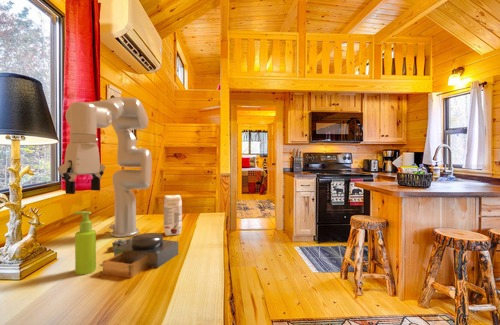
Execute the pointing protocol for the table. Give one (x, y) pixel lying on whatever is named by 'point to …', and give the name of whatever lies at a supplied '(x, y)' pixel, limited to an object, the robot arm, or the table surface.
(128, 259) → the grey block with dome
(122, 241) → the egg carton
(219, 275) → the table surface
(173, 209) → the juice carton
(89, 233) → the soap dispenser
